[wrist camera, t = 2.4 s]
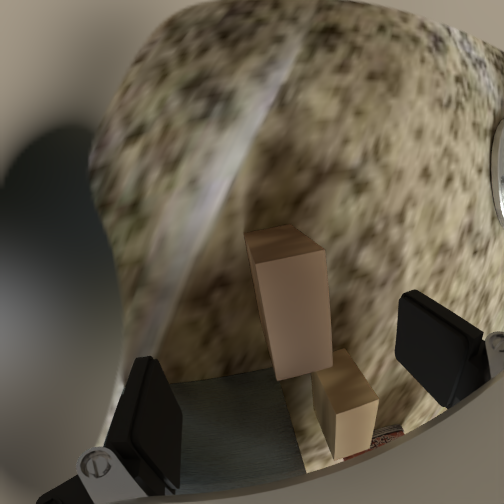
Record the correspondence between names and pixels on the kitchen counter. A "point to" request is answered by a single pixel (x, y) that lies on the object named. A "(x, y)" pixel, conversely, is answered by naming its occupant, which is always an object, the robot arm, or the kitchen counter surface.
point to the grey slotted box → (235, 433)
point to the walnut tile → (291, 299)
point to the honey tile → (344, 406)
